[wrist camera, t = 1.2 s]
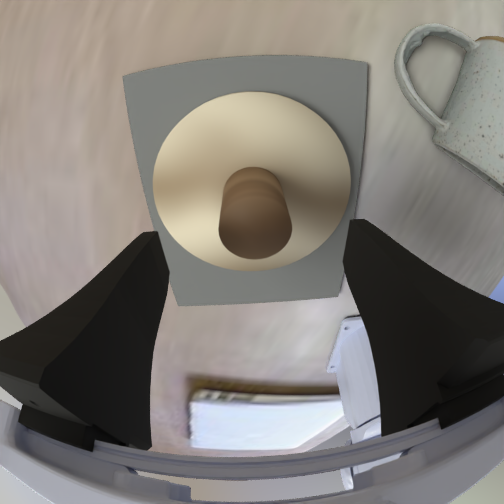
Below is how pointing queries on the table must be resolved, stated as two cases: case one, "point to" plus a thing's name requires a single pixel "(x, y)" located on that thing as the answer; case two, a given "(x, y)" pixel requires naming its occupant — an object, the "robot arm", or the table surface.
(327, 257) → the mat
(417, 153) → the table surface
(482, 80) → the ceramic mug
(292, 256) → the lid
